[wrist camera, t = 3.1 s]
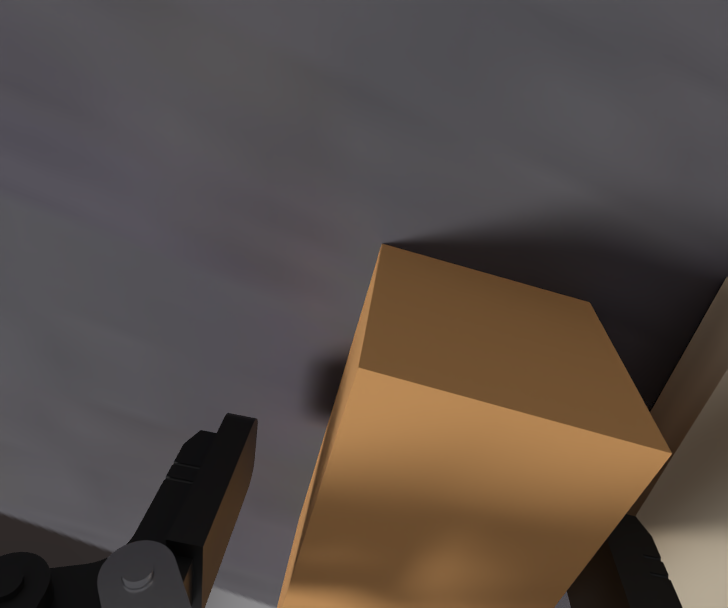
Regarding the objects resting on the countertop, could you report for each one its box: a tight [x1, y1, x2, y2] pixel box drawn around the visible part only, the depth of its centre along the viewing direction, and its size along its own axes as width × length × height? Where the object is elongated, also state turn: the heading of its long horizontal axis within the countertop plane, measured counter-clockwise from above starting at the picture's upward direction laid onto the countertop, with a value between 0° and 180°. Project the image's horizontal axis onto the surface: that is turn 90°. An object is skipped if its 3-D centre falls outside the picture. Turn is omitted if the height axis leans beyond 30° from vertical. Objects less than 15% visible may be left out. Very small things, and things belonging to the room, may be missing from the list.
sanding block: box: [277, 244, 672, 608], centre depth 13 cm, size 5×10×5 cm, turn 165°
